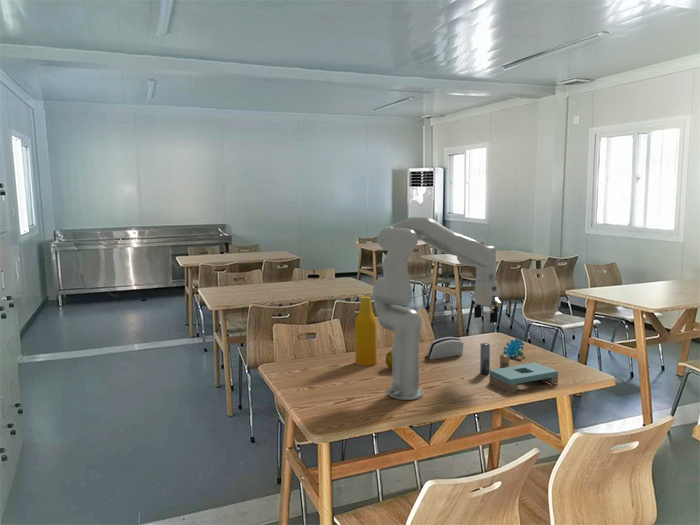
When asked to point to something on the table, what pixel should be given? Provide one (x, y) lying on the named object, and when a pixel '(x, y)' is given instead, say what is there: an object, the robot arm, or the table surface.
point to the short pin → (504, 361)
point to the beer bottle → (366, 334)
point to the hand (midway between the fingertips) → (485, 319)
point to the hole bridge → (521, 376)
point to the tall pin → (485, 359)
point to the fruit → (389, 359)
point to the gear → (514, 348)
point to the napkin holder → (445, 348)
